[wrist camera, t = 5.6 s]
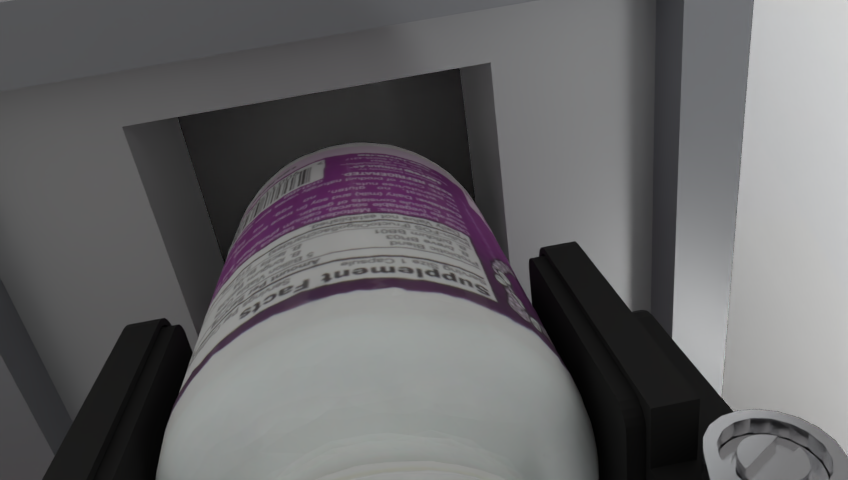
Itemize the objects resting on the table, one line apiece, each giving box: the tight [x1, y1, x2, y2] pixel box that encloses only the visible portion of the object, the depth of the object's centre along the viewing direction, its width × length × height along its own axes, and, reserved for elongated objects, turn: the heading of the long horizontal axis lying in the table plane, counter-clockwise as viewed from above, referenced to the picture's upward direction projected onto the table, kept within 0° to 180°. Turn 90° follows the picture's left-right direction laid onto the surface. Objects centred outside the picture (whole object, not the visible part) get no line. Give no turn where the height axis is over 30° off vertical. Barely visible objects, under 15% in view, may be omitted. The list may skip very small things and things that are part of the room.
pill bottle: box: [156, 142, 599, 480], centre depth 10 cm, size 5×5×10 cm
